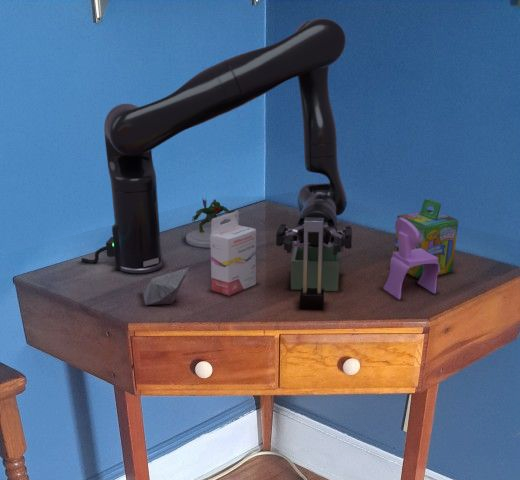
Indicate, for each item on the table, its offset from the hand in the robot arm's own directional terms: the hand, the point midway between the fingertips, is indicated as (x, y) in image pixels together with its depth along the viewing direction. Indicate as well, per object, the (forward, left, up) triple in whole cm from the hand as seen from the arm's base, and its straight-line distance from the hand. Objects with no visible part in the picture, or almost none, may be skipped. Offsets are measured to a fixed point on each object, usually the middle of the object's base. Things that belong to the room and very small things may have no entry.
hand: (312, 248), depth 147 cm
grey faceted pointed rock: (-28, +2, -12) cm, 31 cm away
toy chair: (+19, +12, -12) cm, 26 cm away
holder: (0, +15, -12) cm, 19 cm away
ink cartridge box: (-16, +10, -12) cm, 22 cm away
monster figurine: (-26, +40, -12) cm, 49 cm away
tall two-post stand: (0, +2, -12) cm, 12 cm away
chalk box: (+22, +24, -12) cm, 35 cm away
